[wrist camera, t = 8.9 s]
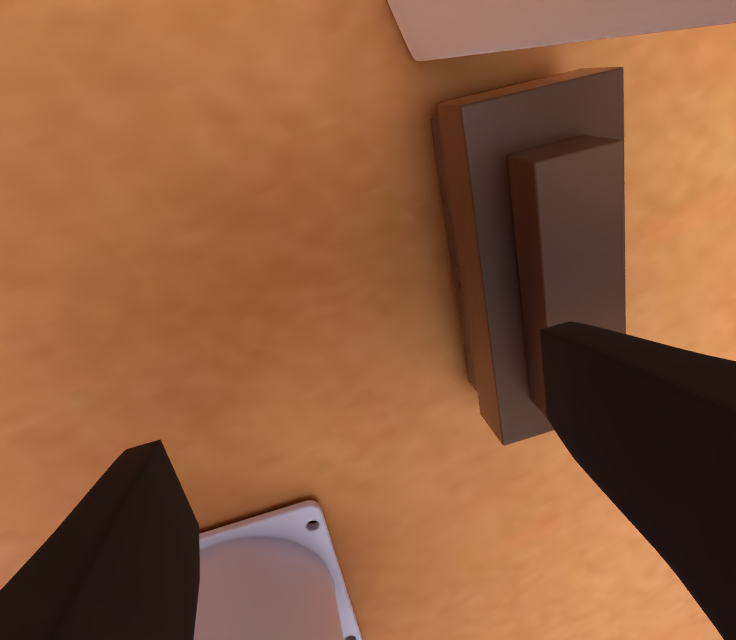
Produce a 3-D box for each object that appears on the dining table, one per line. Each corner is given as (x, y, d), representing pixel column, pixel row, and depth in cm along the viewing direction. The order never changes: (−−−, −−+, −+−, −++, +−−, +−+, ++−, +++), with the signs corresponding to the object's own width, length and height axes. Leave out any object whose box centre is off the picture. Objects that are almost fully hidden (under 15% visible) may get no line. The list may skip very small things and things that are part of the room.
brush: (573, 362, 23) (658, 434, 18) (465, 394, 22) (525, 476, 18) (556, 69, 18) (665, 64, 13) (420, 101, 17) (485, 107, 13)
